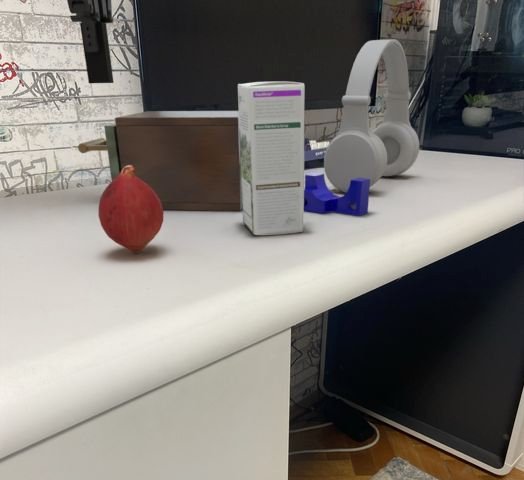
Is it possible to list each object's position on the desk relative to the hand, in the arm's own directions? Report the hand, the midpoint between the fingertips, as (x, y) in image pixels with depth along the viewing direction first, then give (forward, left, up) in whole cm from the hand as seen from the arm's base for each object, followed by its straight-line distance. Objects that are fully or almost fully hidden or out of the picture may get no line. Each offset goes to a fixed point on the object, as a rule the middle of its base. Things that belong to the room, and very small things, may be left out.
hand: (101, 82), depth 68 cm
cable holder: (+28, +11, -15) cm, 34 cm away
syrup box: (+27, 0, -15) cm, 31 cm away
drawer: (+5, +3, -13) cm, 15 cm away
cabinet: (+9, +6, -14) cm, 18 cm away
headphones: (+23, +31, -15) cm, 41 cm away
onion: (+22, -15, -15) cm, 31 cm away
